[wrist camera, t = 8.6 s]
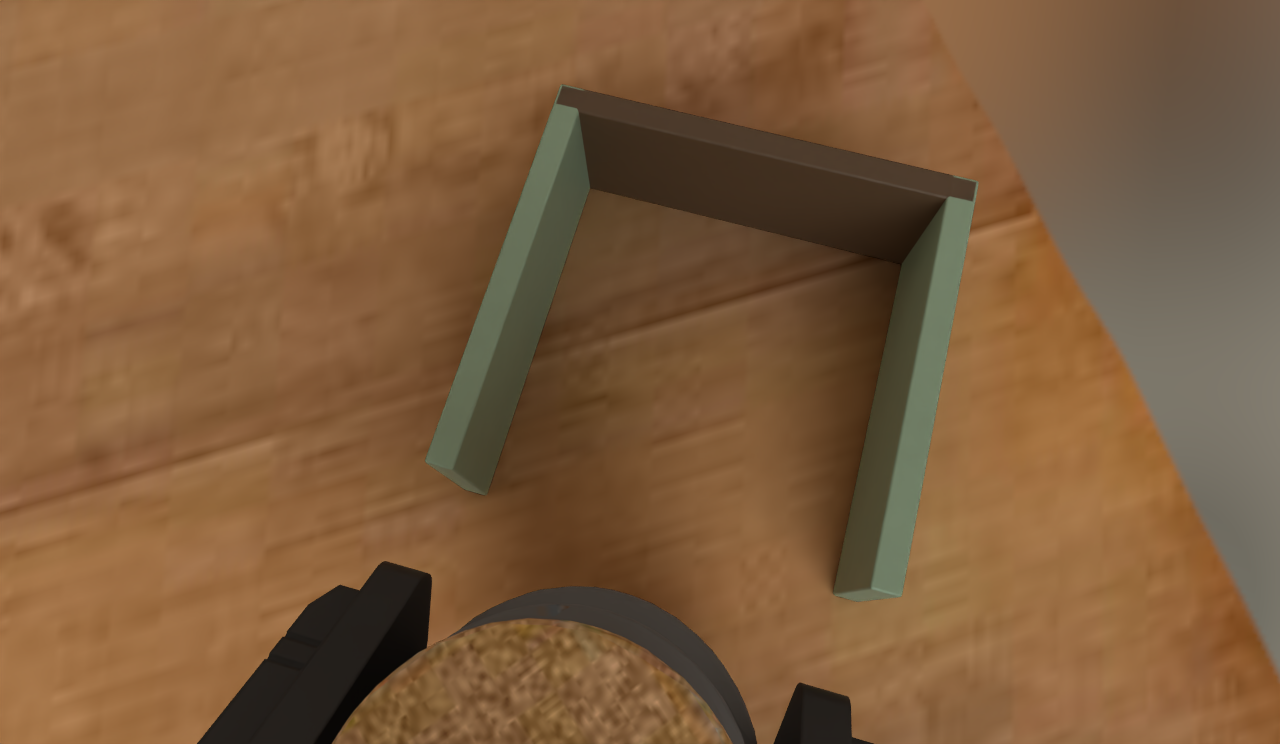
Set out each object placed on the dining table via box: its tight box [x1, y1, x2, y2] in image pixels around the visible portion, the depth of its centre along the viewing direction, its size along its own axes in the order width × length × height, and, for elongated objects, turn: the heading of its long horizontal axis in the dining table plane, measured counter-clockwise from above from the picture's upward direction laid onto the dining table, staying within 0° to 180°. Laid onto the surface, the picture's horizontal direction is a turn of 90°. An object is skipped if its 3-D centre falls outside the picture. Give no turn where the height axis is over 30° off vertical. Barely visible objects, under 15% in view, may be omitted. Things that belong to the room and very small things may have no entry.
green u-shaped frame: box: [425, 84, 978, 602], centre depth 24 cm, size 12×12×4 cm
